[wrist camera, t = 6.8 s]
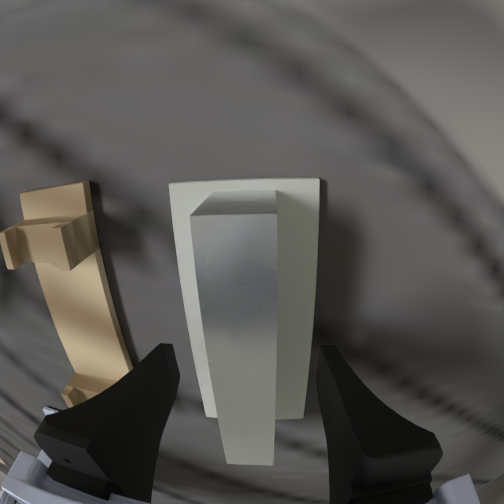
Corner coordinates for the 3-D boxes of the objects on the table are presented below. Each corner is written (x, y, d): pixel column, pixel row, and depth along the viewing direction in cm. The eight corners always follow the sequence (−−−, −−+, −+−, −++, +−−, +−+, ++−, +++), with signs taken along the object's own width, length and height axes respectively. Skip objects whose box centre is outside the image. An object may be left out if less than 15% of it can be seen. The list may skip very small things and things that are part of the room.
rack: (149, 410, 19) (137, 440, 16) (94, 399, 19) (80, 426, 17) (89, 180, 13) (54, 193, 11) (26, 191, 14) (-8, 204, 11)
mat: (302, 414, 18) (303, 418, 18) (207, 412, 19) (206, 416, 18) (318, 177, 13) (319, 179, 12) (171, 182, 13) (168, 184, 13)
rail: (274, 414, 18) (273, 465, 14) (233, 413, 18) (227, 463, 14) (275, 189, 13) (277, 213, 9) (213, 191, 13) (189, 215, 9)
